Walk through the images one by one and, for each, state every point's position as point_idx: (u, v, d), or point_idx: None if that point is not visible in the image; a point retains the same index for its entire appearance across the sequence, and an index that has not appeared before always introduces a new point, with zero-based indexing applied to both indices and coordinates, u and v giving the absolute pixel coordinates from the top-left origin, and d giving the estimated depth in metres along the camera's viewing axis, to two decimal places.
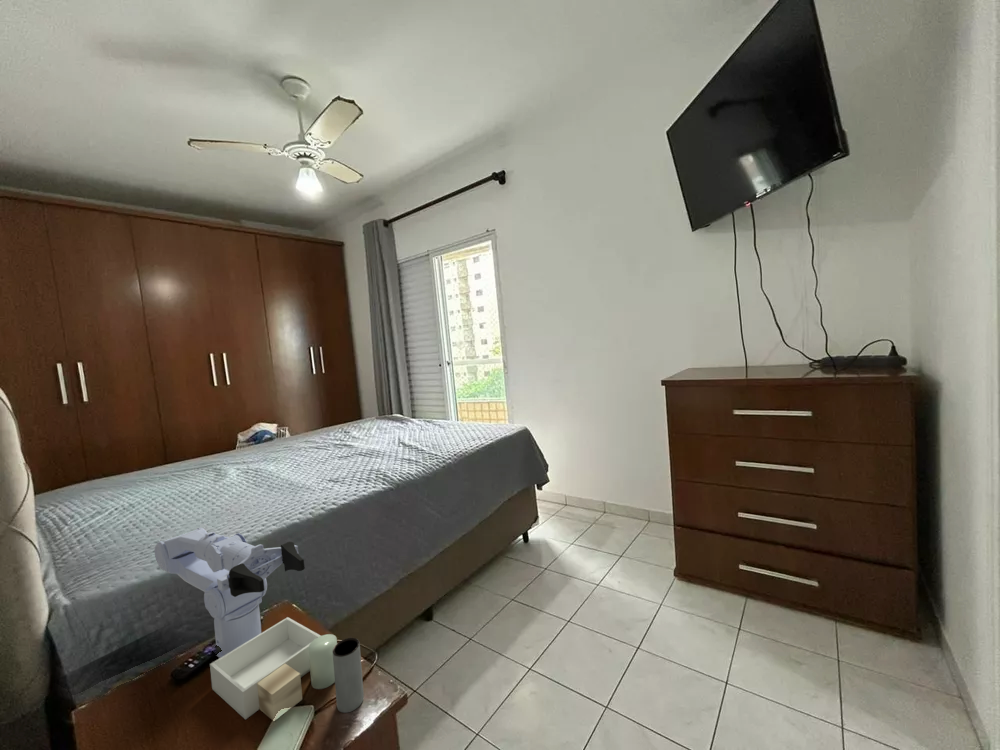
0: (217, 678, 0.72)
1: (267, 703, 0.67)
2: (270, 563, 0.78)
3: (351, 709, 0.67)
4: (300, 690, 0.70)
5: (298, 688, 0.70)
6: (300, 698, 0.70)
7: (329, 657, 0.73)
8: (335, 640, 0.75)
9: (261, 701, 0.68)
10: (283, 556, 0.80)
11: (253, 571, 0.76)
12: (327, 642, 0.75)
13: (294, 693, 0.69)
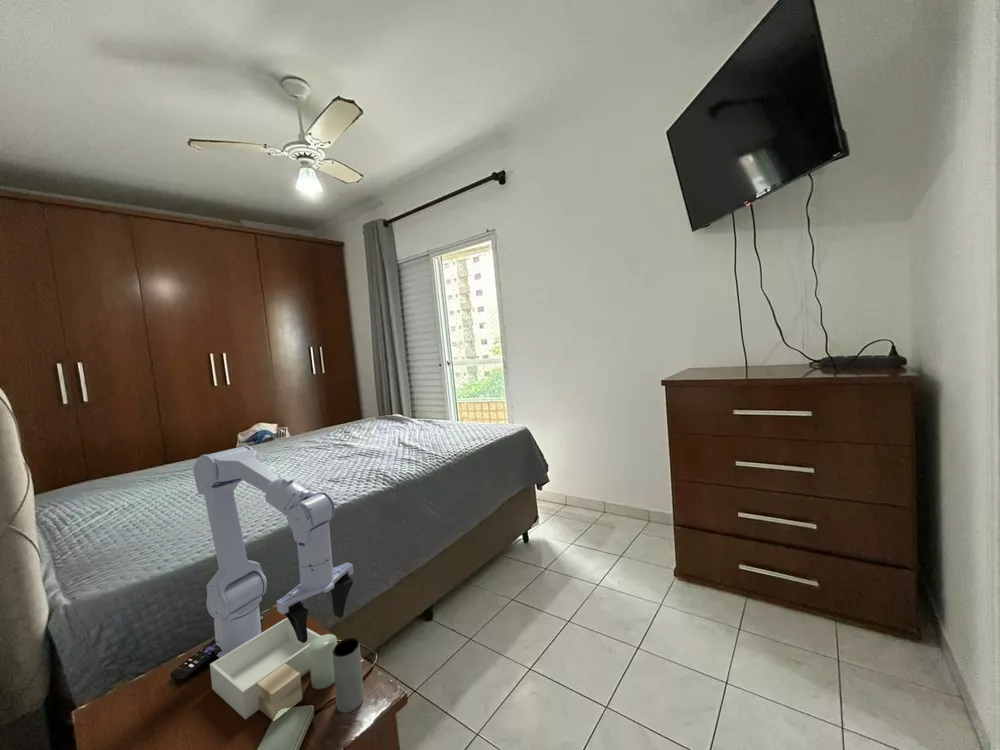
0: (217, 678, 0.72)
1: (267, 703, 0.67)
2: None
3: (351, 709, 0.67)
4: (300, 690, 0.70)
5: (298, 688, 0.70)
6: (300, 698, 0.70)
7: (329, 657, 0.73)
8: (335, 640, 0.75)
9: (261, 701, 0.68)
10: (337, 585, 0.77)
11: None
12: (327, 642, 0.75)
13: (294, 693, 0.69)
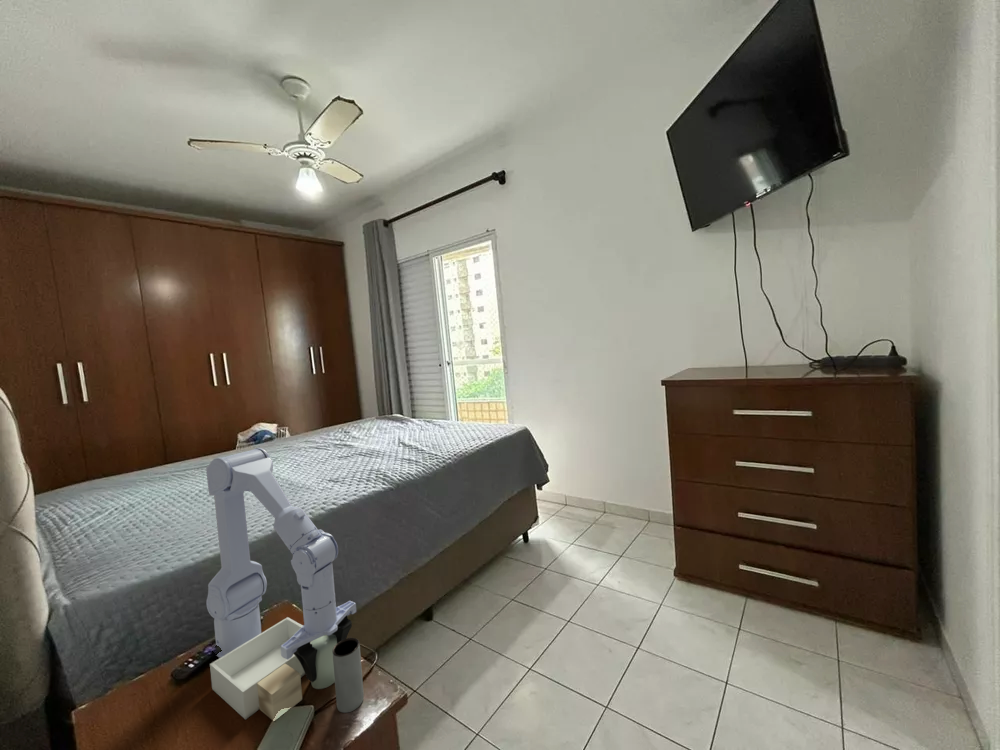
0: (217, 678, 0.72)
1: (267, 703, 0.67)
2: None
3: (351, 709, 0.67)
4: (300, 690, 0.70)
5: (298, 688, 0.70)
6: (300, 698, 0.70)
7: (329, 657, 0.73)
8: (335, 640, 0.75)
9: (261, 701, 0.68)
10: None
11: None
12: (327, 642, 0.75)
13: (294, 693, 0.69)
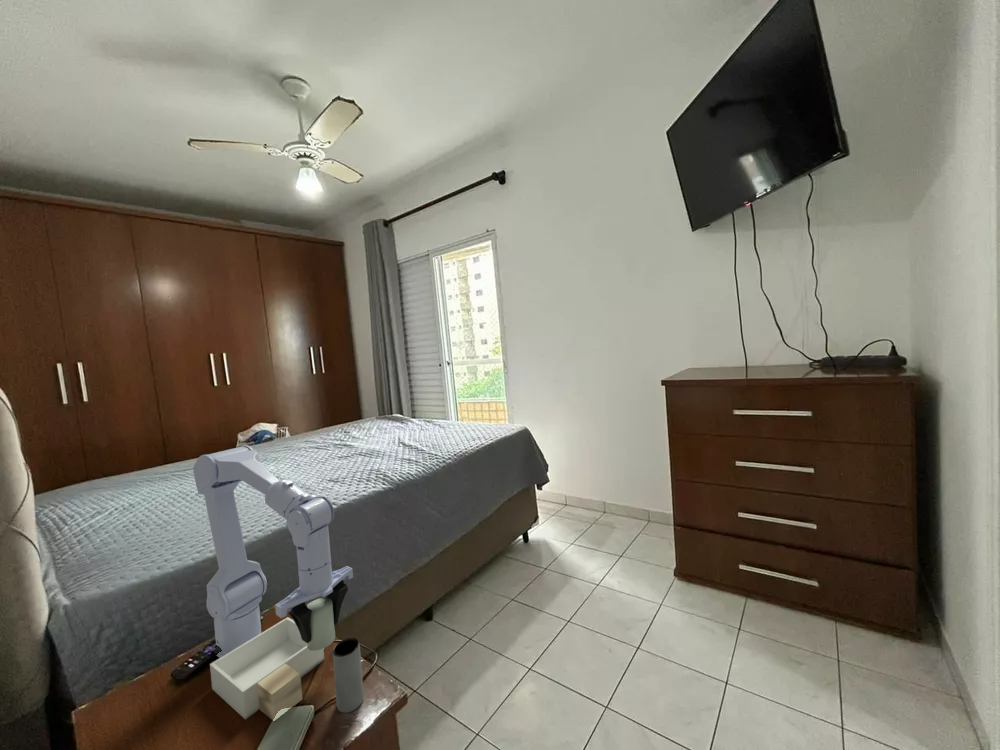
0: (217, 678, 0.72)
1: (267, 703, 0.67)
2: None
3: (351, 709, 0.67)
4: (300, 690, 0.70)
5: (298, 688, 0.70)
6: (300, 698, 0.70)
7: (324, 619, 0.73)
8: (331, 603, 0.75)
9: (261, 701, 0.68)
10: (331, 591, 0.76)
11: None
12: (322, 604, 0.75)
13: (294, 693, 0.69)
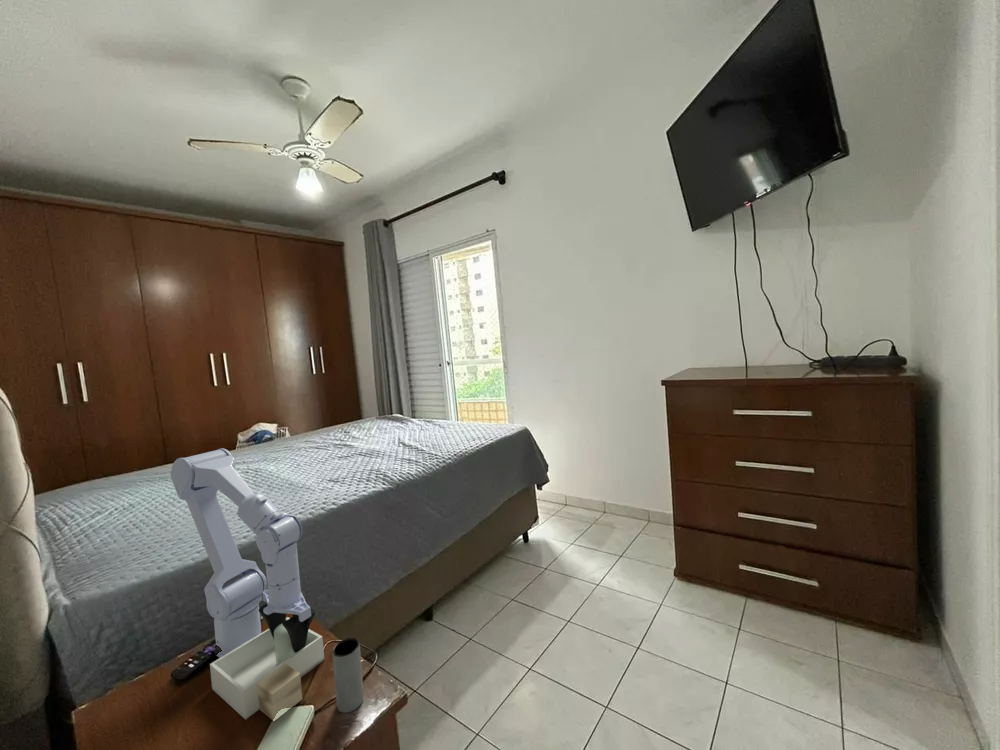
0: (217, 678, 0.72)
1: (267, 703, 0.67)
2: None
3: (351, 709, 0.67)
4: (300, 690, 0.70)
5: (298, 688, 0.70)
6: (300, 698, 0.70)
7: (275, 642, 0.77)
8: (285, 635, 0.77)
9: (261, 701, 0.68)
10: None
11: None
12: None
13: (294, 693, 0.69)
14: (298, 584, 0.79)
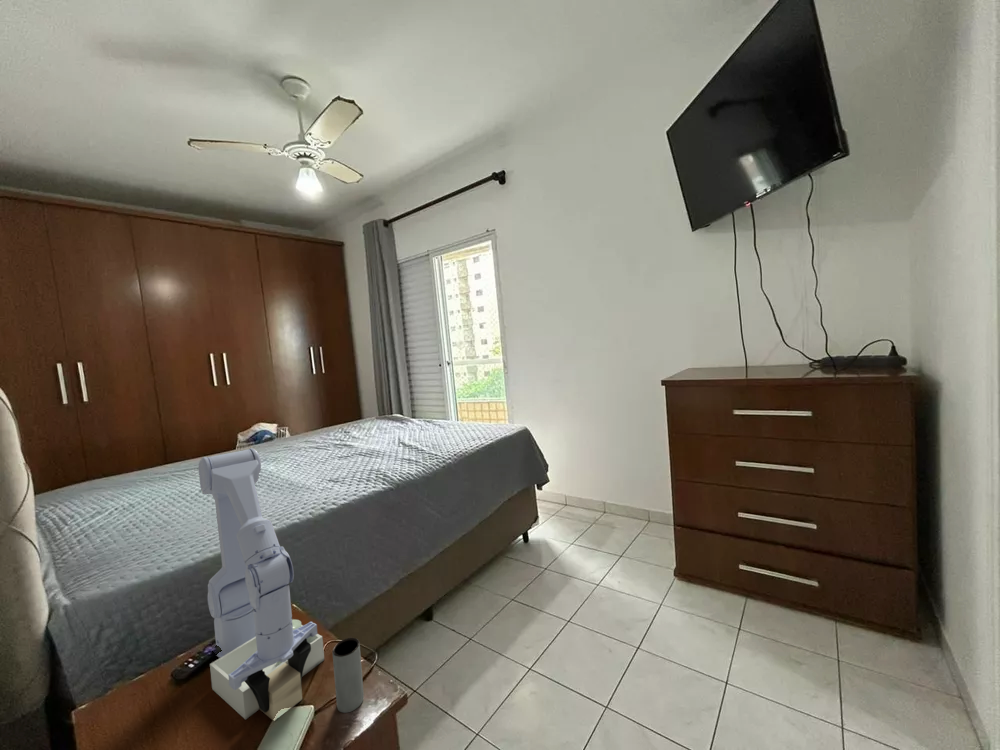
0: (217, 678, 0.72)
1: None
2: None
3: (351, 709, 0.67)
4: (300, 689, 0.70)
5: (298, 688, 0.70)
6: (300, 697, 0.70)
7: None
8: None
9: None
10: (293, 652, 0.71)
11: None
12: None
13: (294, 693, 0.69)
14: None
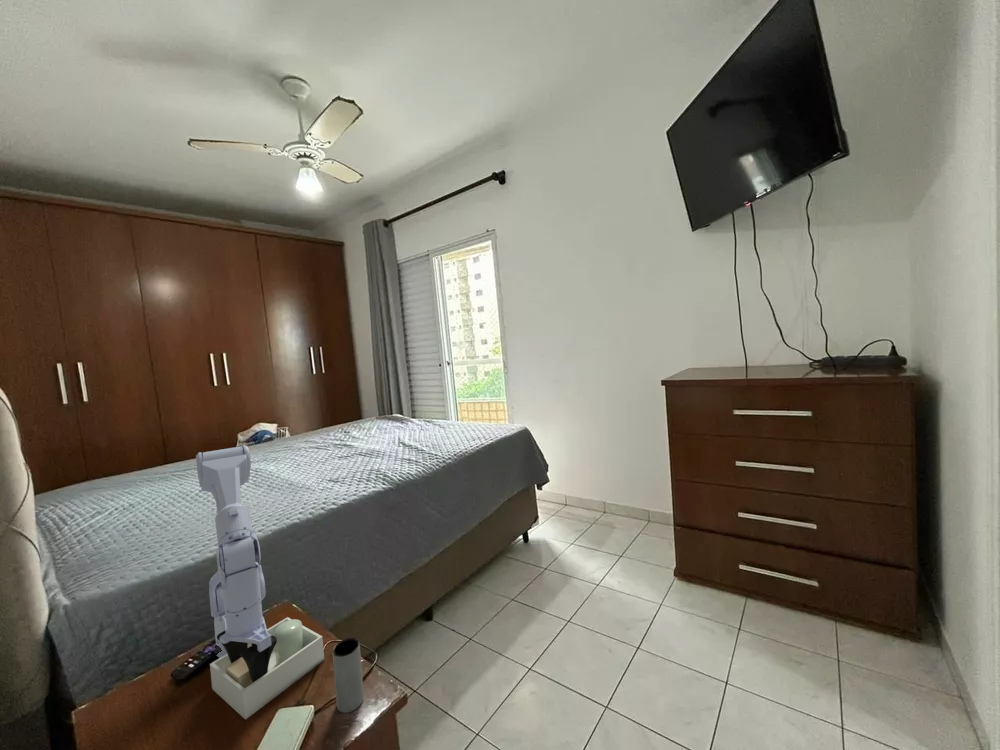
0: (217, 678, 0.72)
1: None
2: None
3: (351, 709, 0.67)
4: None
5: None
6: None
7: (276, 644, 0.77)
8: (288, 635, 0.77)
9: None
10: None
11: None
12: (288, 630, 0.78)
13: None
14: (259, 609, 0.73)
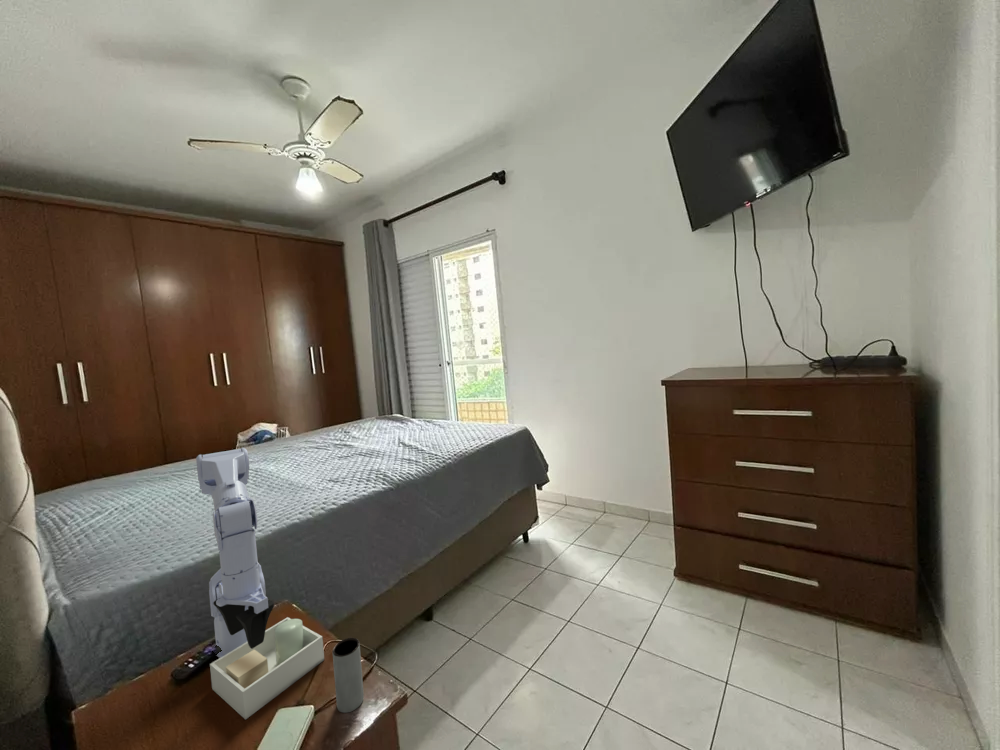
0: (217, 678, 0.72)
1: None
2: None
3: (351, 709, 0.67)
4: None
5: None
6: None
7: (278, 642, 0.77)
8: (290, 632, 0.77)
9: None
10: None
11: None
12: (289, 628, 0.79)
13: None
14: (256, 573, 0.72)
